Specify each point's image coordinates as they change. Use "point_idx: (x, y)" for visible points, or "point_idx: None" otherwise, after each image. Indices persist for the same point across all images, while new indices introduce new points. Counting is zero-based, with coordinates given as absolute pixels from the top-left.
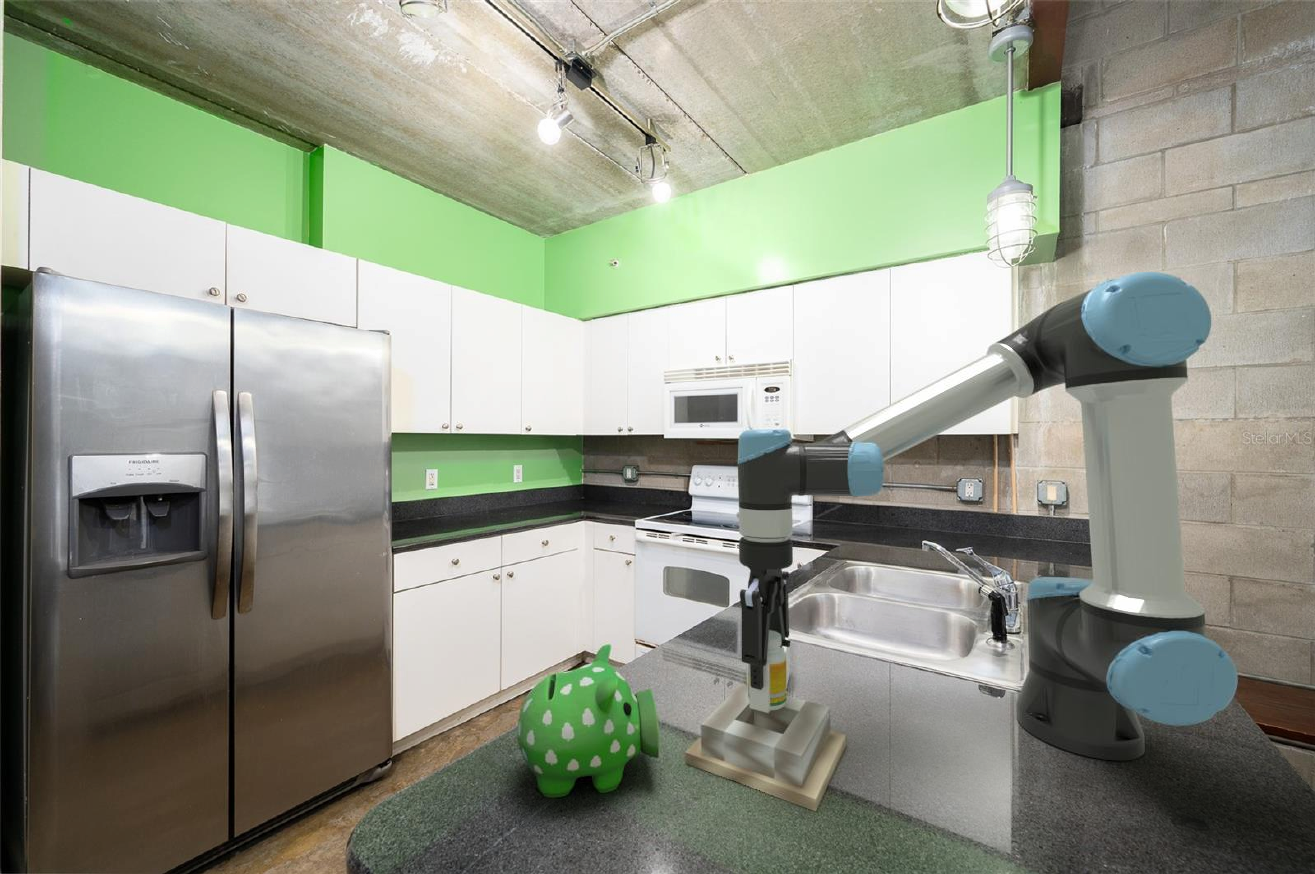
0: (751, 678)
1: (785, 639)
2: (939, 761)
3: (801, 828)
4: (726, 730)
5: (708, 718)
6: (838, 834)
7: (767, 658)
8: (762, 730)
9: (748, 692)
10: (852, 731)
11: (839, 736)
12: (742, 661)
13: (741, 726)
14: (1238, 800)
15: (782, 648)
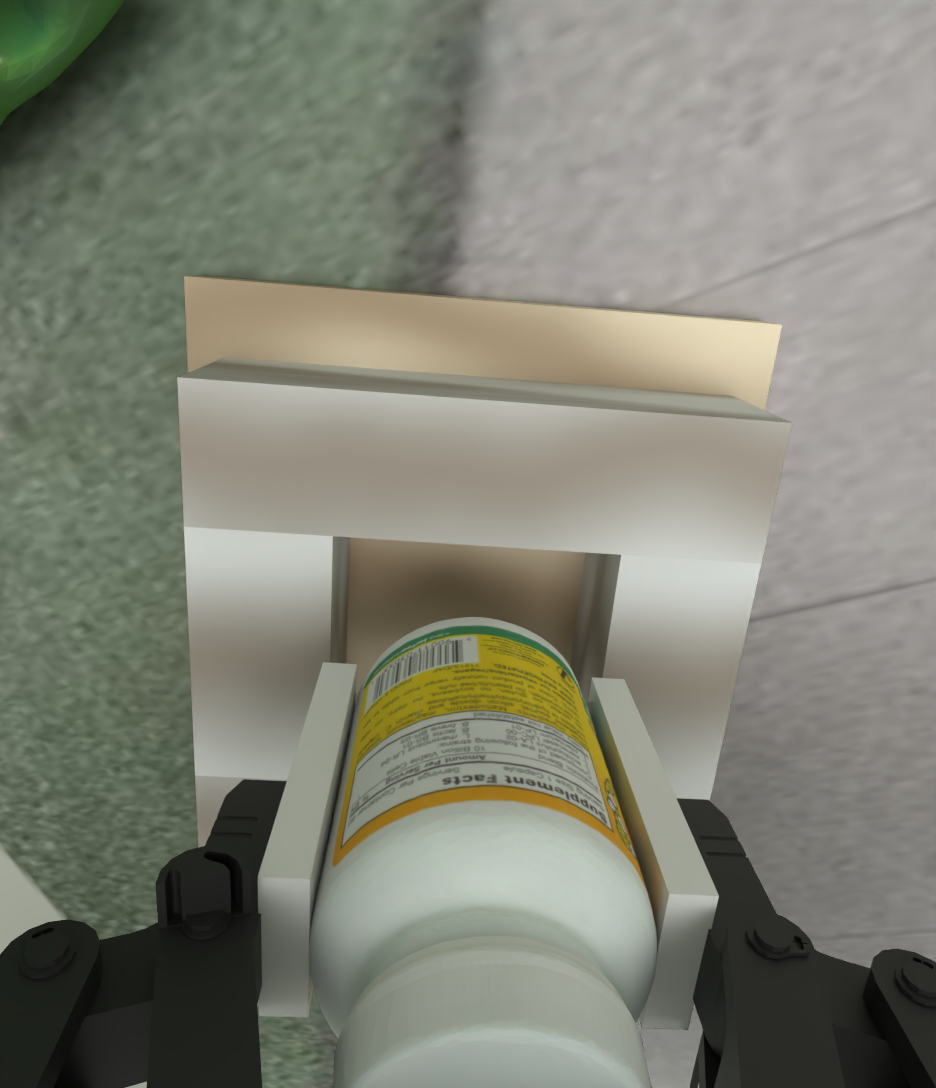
0: (210, 834)
1: None
2: (681, 1063)
3: (115, 788)
4: (200, 535)
5: (261, 394)
6: None
7: (328, 1020)
8: (308, 692)
9: (408, 653)
10: (775, 833)
11: None
12: (27, 935)
13: (285, 591)
14: None
15: (671, 1022)
